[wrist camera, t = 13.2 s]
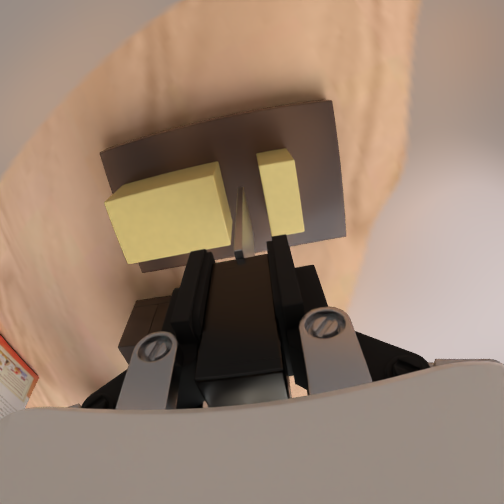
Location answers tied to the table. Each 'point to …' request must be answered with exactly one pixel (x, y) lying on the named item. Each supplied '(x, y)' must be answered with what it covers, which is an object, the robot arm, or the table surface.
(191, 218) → the butter
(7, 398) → the cracker box
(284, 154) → the butter pat
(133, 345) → the knife block
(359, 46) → the table surface
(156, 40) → the table surface
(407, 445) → the robot arm
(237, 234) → the knife
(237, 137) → the board
